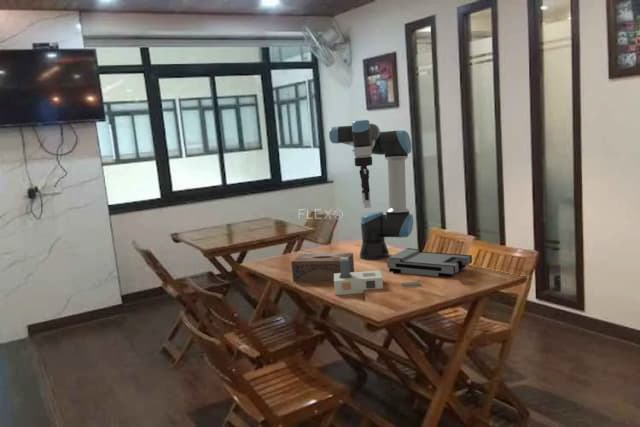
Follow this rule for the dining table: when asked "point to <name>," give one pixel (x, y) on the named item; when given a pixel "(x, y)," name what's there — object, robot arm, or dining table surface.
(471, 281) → the dining table surface
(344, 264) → the plug
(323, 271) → the tissue box cover
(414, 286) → the plate
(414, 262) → the office tray
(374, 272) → the socket block
